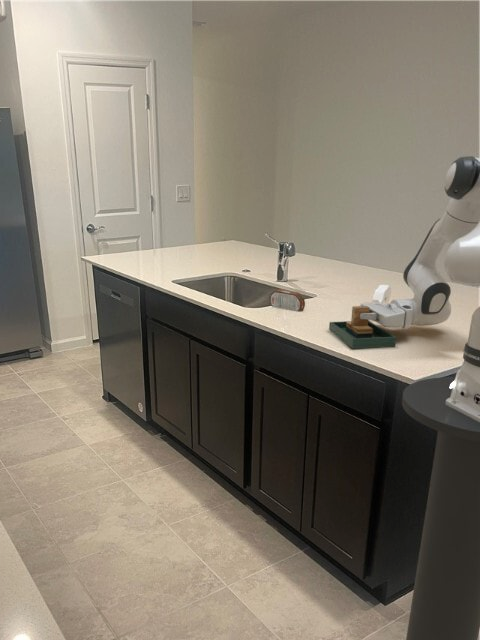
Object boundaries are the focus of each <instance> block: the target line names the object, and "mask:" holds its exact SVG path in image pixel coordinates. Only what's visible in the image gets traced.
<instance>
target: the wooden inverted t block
mask: <svg viewBox="0 0 480 640" xmlns="http://www.w3.org/2000/svg"><path fill="white" fill-rule="evenodd" d="M369 309H370V307H368V306H361V305H356V306H355V305H354V306H352V307H351V317H350V319H351V320H350V321H351V322H346V331H347V332H349V333H350V334H352V335H353V336H354V337H356V338H372V333H373V328H371V327H369V326H368V320H367V319H360V318H359V313H369Z"/></svg>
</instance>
